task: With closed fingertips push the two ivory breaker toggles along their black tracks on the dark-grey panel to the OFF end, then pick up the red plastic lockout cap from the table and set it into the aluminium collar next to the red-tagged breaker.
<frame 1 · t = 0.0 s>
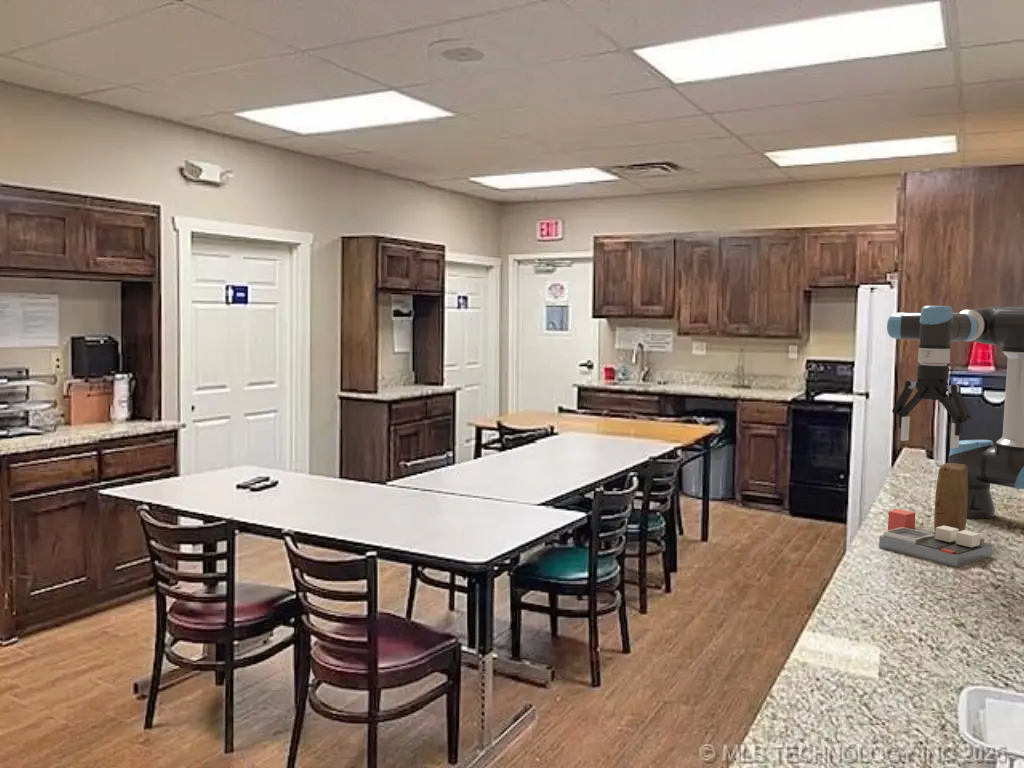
hand: (928, 444, 226), 28 cm above the countertop, fingers open, 13 cm apart
cap: (900, 536, 239), on the countertop
toggle b: (946, 533, 223), point 5 cm above the countertop, slide at 0.0 cm
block: (949, 534, 243), on the countertop
toggle a: (967, 538, 219), point 5 cm above the countertop, slide at 0.0 cm
panel: (934, 551, 224), on the countertop
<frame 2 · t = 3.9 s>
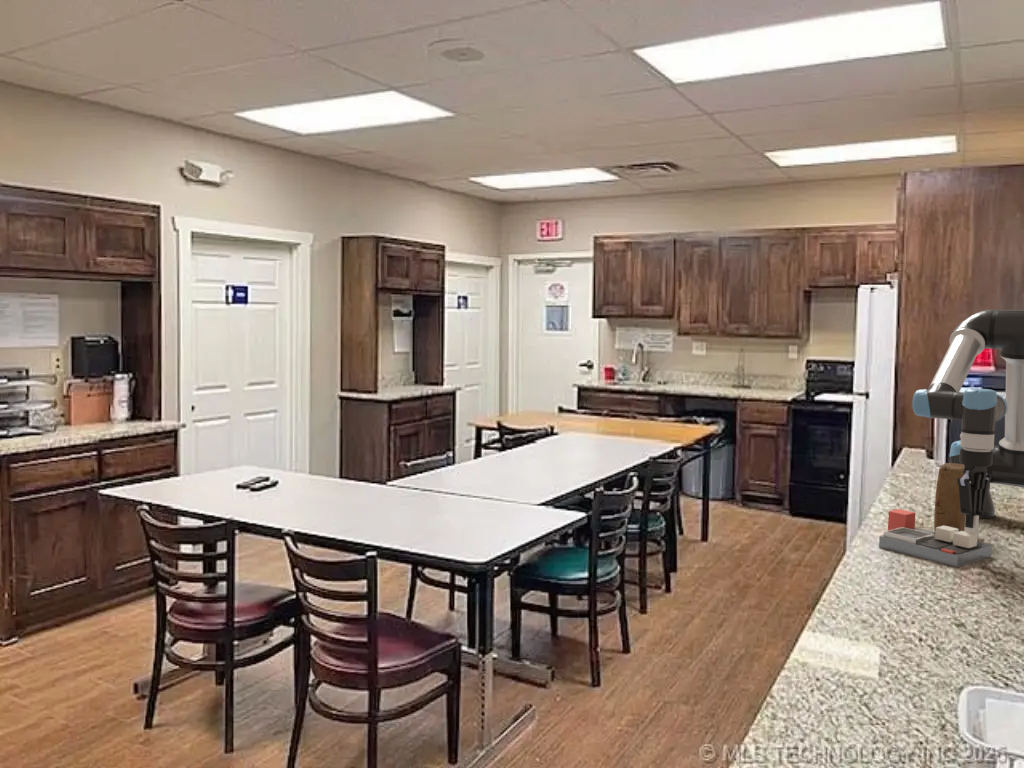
hand: (970, 539, 219), 5 cm above the countertop, fingers closed
toggle a: (965, 539, 218), point 5 cm above the countertop, slide at 1.4 cm, touching gripper
everything else where it was.
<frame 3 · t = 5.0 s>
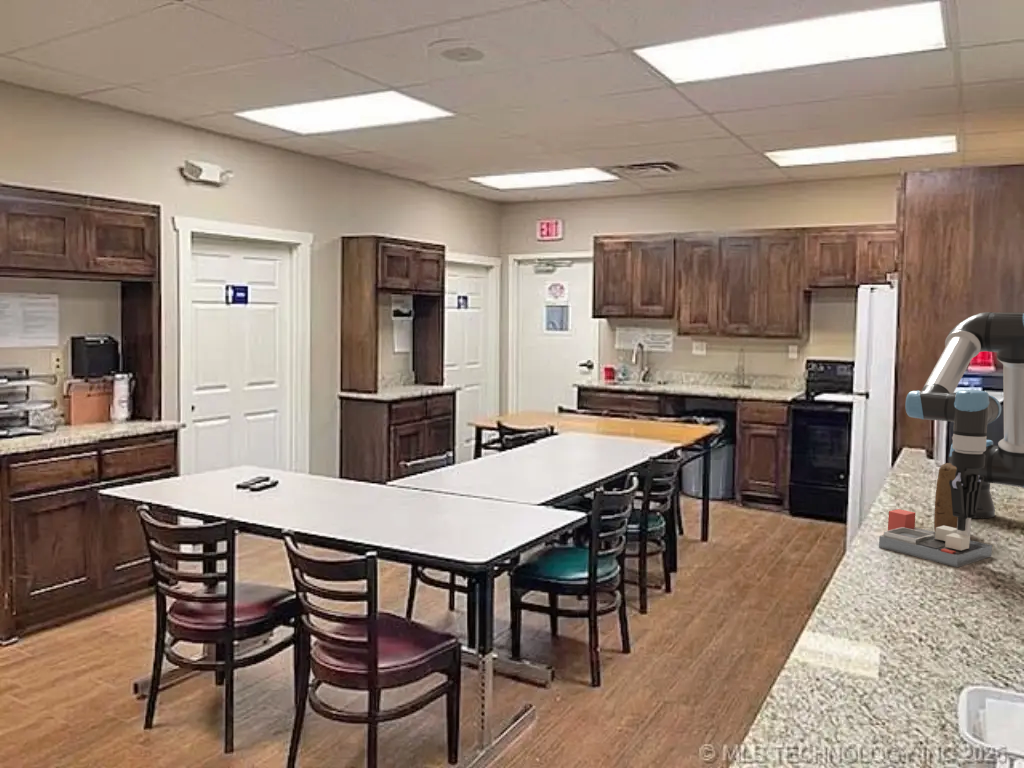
hand: (962, 542, 217), 4 cm above the countertop, fingers closed
toggle a: (957, 541, 216), point 5 cm above the countertop, slide at 5.2 cm, touching gripper
everything else where it was.
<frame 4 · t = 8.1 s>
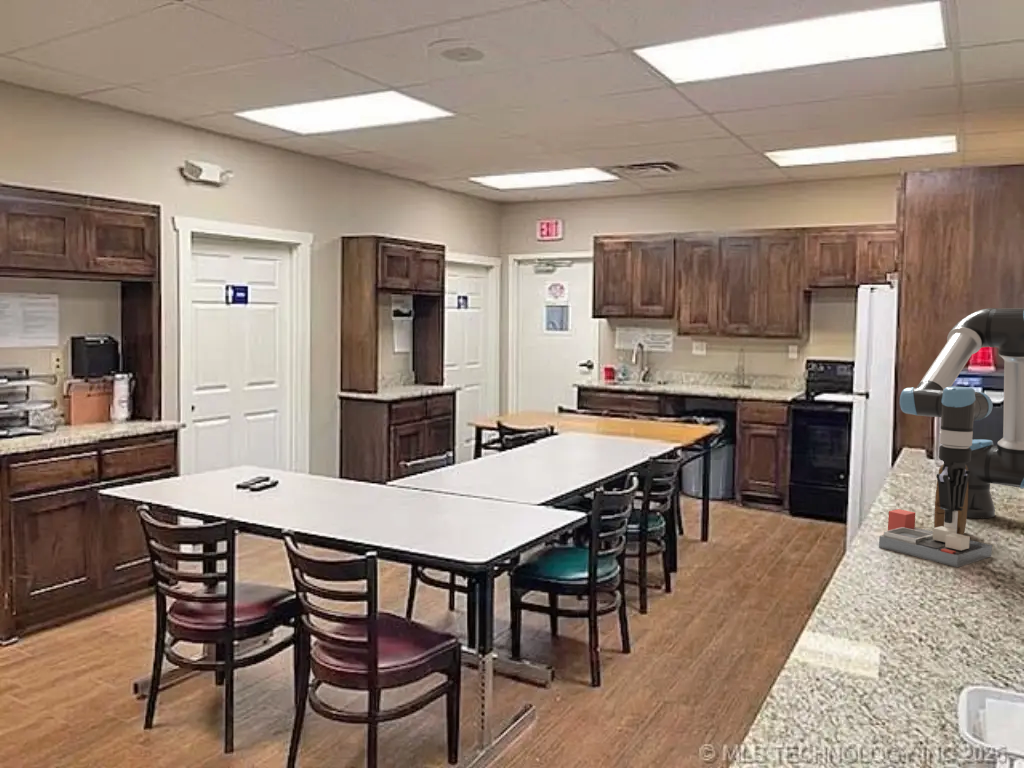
hand: (949, 534, 224), 5 cm above the countertop, fingers closed
toggle b: (944, 534, 223), point 5 cm above the countertop, slide at 1.2 cm, touching gripper
toggle a: (957, 541, 216), point 5 cm above the countertop, slide at 5.2 cm
everything else where it was.
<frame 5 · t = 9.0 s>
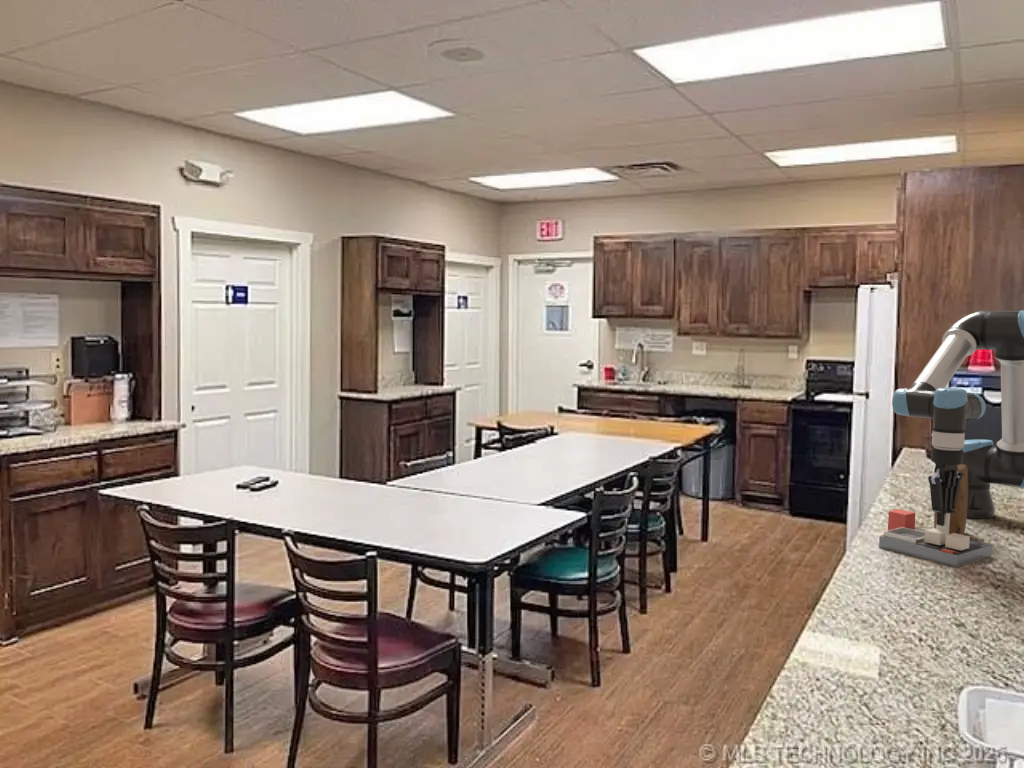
hand: (942, 536, 222), 5 cm above the countertop, fingers closed
toggle b: (936, 536, 220), point 5 cm above the countertop, slide at 5.1 cm, touching gripper
everything else where it was.
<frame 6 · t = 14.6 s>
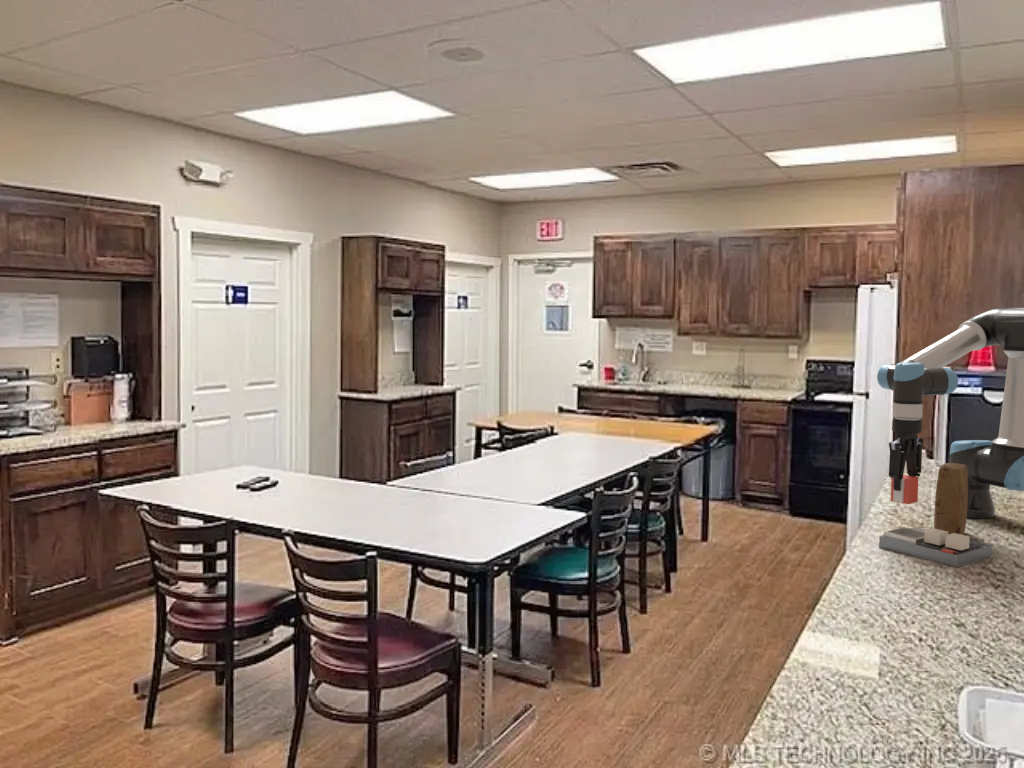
hand: (904, 500, 238), 10 cm above the countertop, fingers closed on cap, 5 cm apart
cap: (904, 501, 238), point 10 cm above the countertop, touching gripper
toggle b: (936, 536, 220), point 5 cm above the countertop, slide at 5.2 cm
everything else where it was.
when the fingers open (4 cm above the countertop, at t = 18.1 s): cap stays where it is, resting on panel.
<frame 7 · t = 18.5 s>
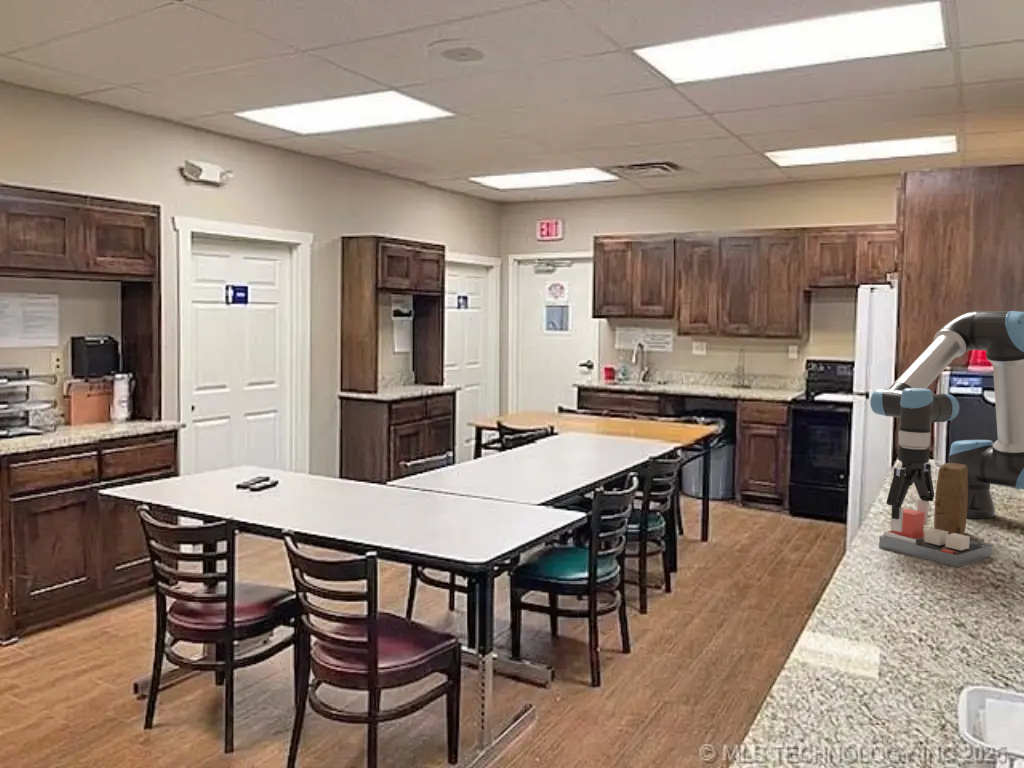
hand: (909, 527, 226), 6 cm above the countertop, fingers open, 11 cm apart
cap: (908, 537, 227), point 3 cm above the countertop, touching panel
everything else where it was.
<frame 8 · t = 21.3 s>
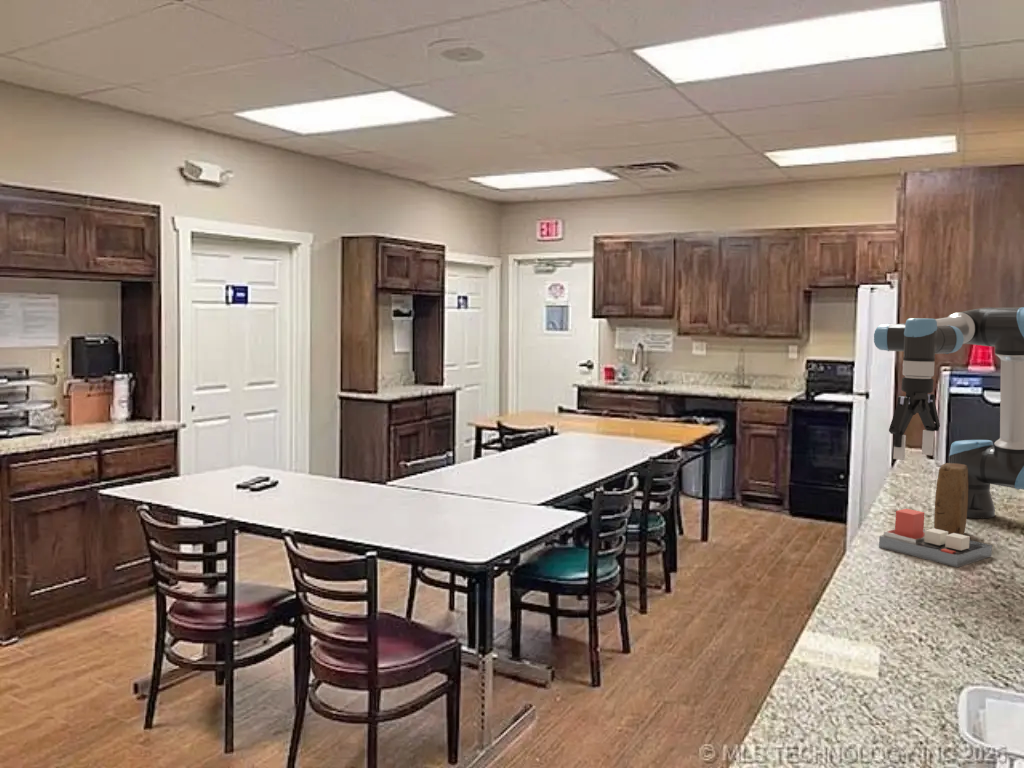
hand: (913, 457, 225), 25 cm above the countertop, fingers open, 13 cm apart
nothing on the countertop moved.
at the end: toggle a slide at 5.2 cm; toggle b slide at 5.2 cm; cap 0.0 cm from the target spot on the panel, point 3.0 cm above the panel's base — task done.
